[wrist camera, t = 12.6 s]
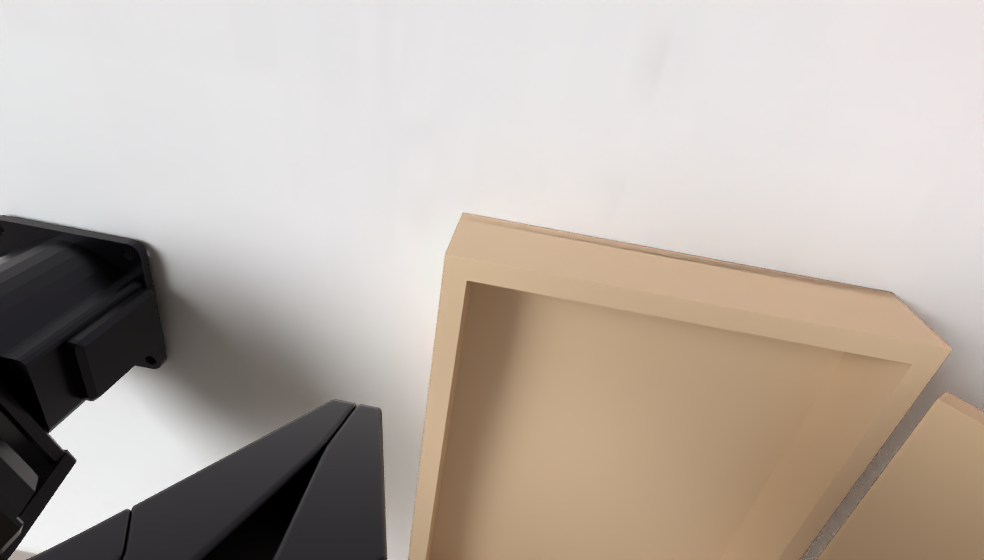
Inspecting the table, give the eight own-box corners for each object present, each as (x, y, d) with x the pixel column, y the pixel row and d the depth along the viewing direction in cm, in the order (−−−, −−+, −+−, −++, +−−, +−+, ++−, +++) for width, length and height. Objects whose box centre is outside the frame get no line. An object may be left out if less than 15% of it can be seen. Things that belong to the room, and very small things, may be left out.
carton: (415, 563, 31) (399, 627, 28) (462, 212, 20) (444, 254, 17) (691, 619, 31) (705, 689, 27) (892, 292, 20) (952, 349, 17)
